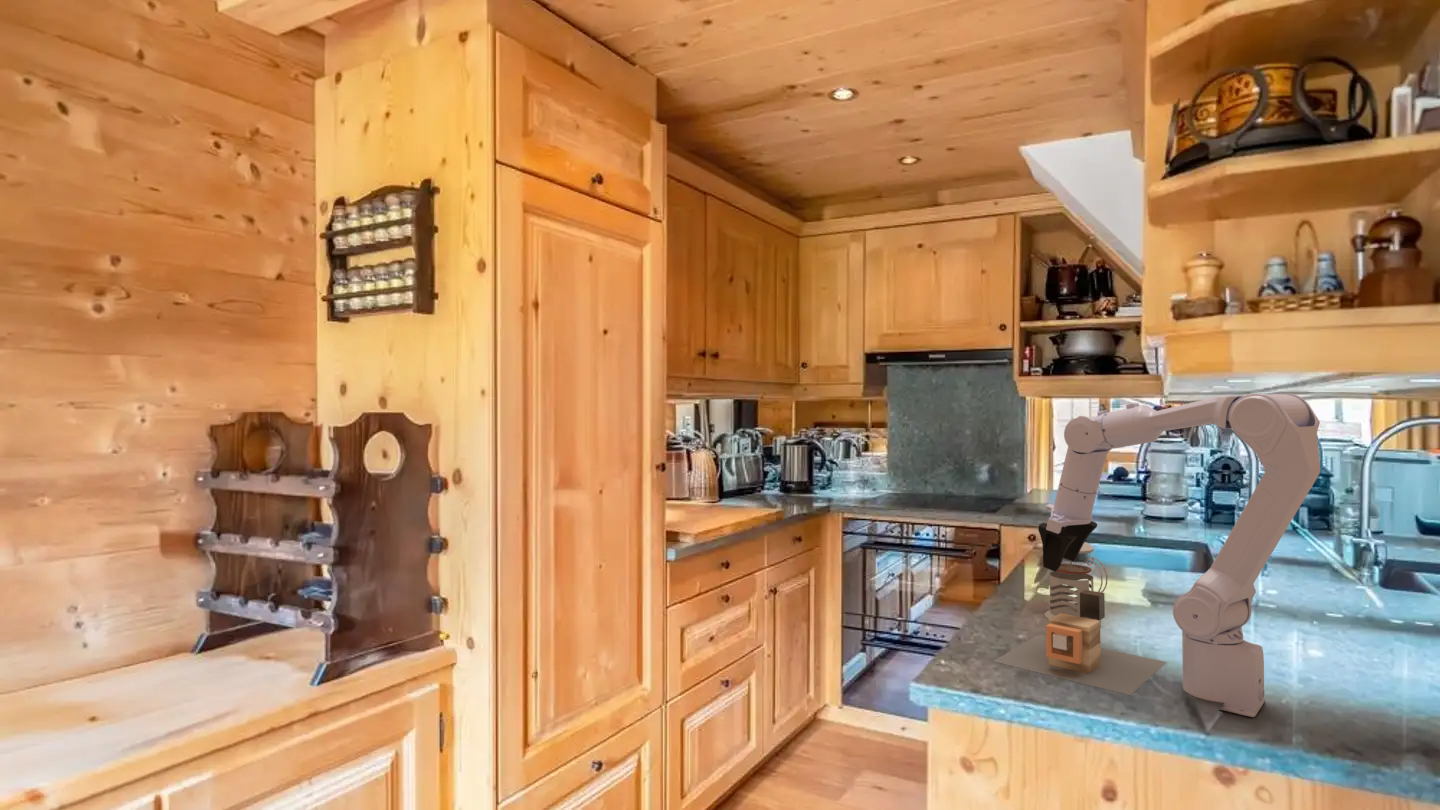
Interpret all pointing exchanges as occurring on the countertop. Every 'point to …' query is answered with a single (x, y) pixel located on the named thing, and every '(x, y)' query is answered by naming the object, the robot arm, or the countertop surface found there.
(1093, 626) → the bearing block
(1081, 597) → the shaft
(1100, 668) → the mounting plate
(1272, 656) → the countertop surface
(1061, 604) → the french press
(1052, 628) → the spacer
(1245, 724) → the countertop surface
